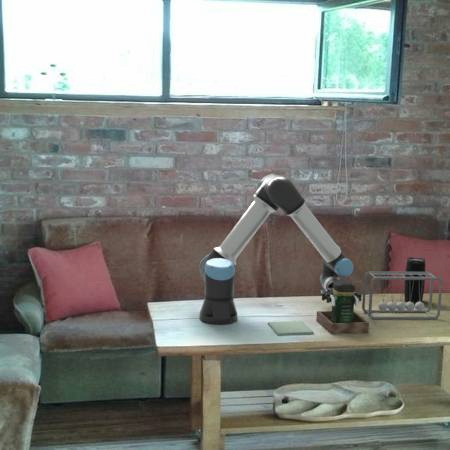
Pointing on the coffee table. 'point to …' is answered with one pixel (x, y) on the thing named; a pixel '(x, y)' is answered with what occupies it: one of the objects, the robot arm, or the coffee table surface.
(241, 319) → the coffee table surface
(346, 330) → the walnut caddy
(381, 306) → the newton's cradle
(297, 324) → the sage mat
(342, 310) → the coffee jar
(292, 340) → the coffee table surface
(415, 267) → the portable speaker
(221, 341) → the coffee table surface
